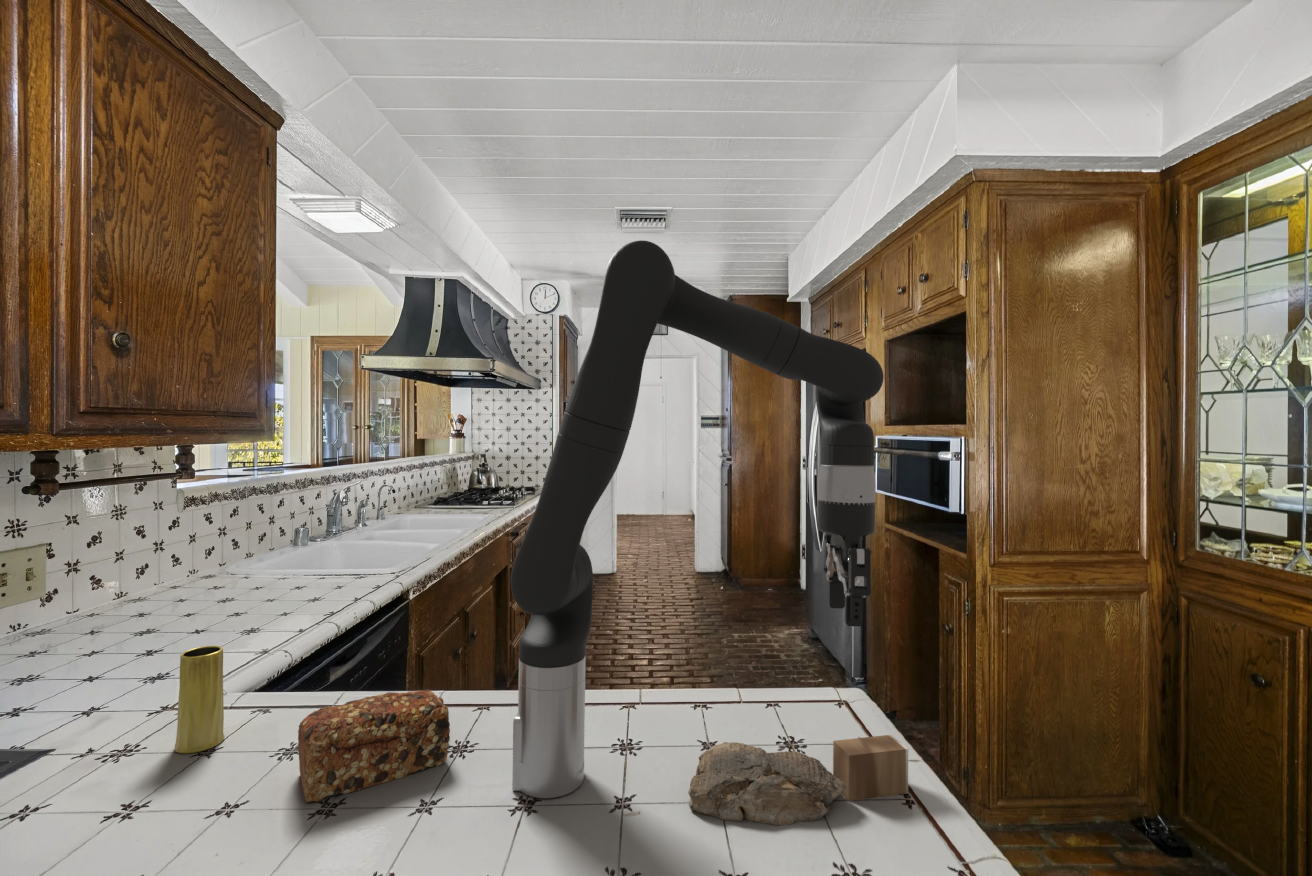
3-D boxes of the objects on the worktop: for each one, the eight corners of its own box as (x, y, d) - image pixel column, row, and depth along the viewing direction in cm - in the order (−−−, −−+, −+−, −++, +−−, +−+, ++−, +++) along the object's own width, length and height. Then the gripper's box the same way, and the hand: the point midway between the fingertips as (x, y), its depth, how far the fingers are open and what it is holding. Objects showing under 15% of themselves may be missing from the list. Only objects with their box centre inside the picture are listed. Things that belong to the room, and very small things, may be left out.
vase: (175, 758, 86) (177, 661, 86) (173, 742, 91) (175, 650, 91) (226, 745, 90) (228, 652, 90) (222, 730, 95) (224, 641, 95)
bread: (302, 811, 75) (304, 732, 75) (296, 772, 83) (297, 701, 83) (451, 766, 85) (452, 697, 86) (431, 736, 94) (433, 673, 94)
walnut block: (848, 800, 78) (908, 792, 80) (848, 755, 78) (908, 748, 80) (833, 783, 82) (890, 776, 84) (833, 740, 82) (890, 734, 84)
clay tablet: (840, 778, 84) (701, 758, 88) (841, 744, 84) (702, 725, 88) (850, 846, 70) (685, 817, 75) (851, 805, 70) (686, 779, 74)
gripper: (892, 503, 73) (890, 633, 73) (858, 494, 88) (856, 603, 87) (831, 502, 74) (830, 631, 74) (807, 493, 88) (806, 601, 88)
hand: (844, 616), depth 81 cm, fingers open, 8 cm apart
